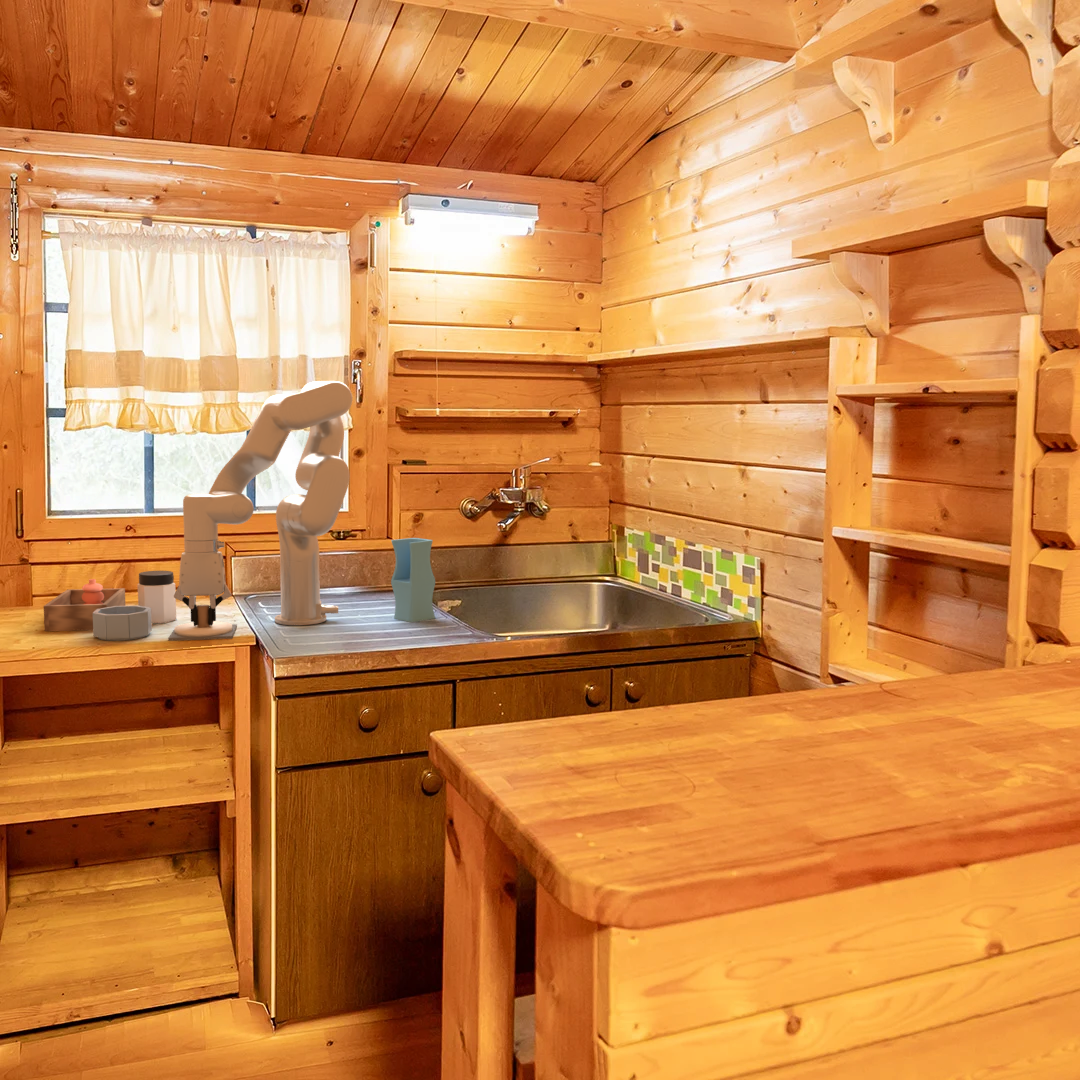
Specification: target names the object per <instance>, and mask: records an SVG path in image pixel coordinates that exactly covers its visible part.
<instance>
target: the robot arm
mask: <svg viewBox="0 0 1080 1080" xmlns="http://www.w3.org/2000/svg"><path fill="white" fill-rule="evenodd" d="M352 404H353V393H352V391H351V389H350V388H349V386H347V385H346V384H345V383H344V382H341V381H339V380H338V381H335V380H321V381H320V380H317V381H311V382H308V383H306V384H305V385H304V386H303V387H302V389H301V391H300V392H298V393H297V392H296V393H291V394H289V393H287V394H286V393H285V394H275V395H271V396H269V397H268V398H267V399H266V400H265V402H264V403H263V404H262V406H261V407H260V408H261V409H260V410H259V412H258V414H257V416H256V419H255V420H254V422H253V424H252V426H251V428H250V430H249V432H248V434H247V436H246V438H245V439H244V441H243V443H242V444H241V447H240V448H238V450H237V451H236V452H235V453H234V455H233V456H232V457H231V458H230V459H229V460H228V462H227V463H226V464H225V465H224V466H223V467H222V469H220V472H219V473H218V475H217V476H216V478H215V480H214V481H213V484H212V486H211V487H210V490H209V492H208V493H191V494H190V493H189V494H187V495H185V496H184V497H183V500H182V508H183V509H182V510H183V512H182V514H183V517H182V518H183V543H184V548H183V549H184V552H182V553H181V556H180V561H179V562H180V564H179V574H178V575H179V578H178V579H179V581H178V582H179V584H178V587H177V589H175V591H176V592H175V594H174V598H176V600H177V601H180V602H182V603H184V604H185V605H186V606H187V607H188V608H189V609H190V623H192V622H194V626H196V625H197V605H198V604H197V602H196V600H197V597H199V596H200V597H202V596H203V597H204V596H209V609H208V615H209V625H210V626H211V625H213V621H217V616H216V615H217V614H216V611H217V610H216V608H217V606H218V605H220V604H221V603H222V602H223V601H225V600H226V599H228V598H230V597H231V596H232V592H231V590H230V589H229V587H228V585H227V583H226V582H227V581H226V570H225V561H224V556H223V553H222V551H219V550H220V549H222V548H225V546H226V545H225V541H220V540H219V532H218V525H219V524H222V525H224V524H225V525H226V524H227V525H242V524H244V523H246V522H248V521H249V520H250V519H251V518H252V516H253V515H254V510H255V509H254V508H255V507H254V504H253V501H252V499H250V498H249V497H248V496H247V495H246V494H243V491H244V490H245V489H246V487H247V486H248V484H249V483H250V482H251V481H252V480H253V479H254V478H255V477H256V476H258V475H259V474H261V473H263V472H264V471H266V470H267V469H269V468H270V467H272V466H273V465H274V464H275V463H276V462H277V459H278V456H279V454H280V453H281V450H282V449H283V447H284V445H285V443H286V441H287V439H288V437H289V436H290V433H291V431H300V430H304V429H307V428H309V434H308V437H307V441H306V442H305V445H304V448H303V450H302V454H301V457H300V459H299V461H298V464H297V467H296V470H295V480H296V483H297V485H298V486H299V487H300V488H301V489H303V490H305V491H307V492H306V494H297V493H296V494H295V493H294V494H289V495H287V496H285V497H283V499H282V500H280V502H279V503H278V505H277V507H276V509H275V510H276V511H275V523H276V527H277V534H278V539H279V540H278V541H279V542H278V543H279V573H280V575H279V579H280V580H279V582H280V614H278V615H275V617H274V622H275V623H276V624H279V625H286V626H309V625H317V624H320V623H324V622H326V620H327V615H326V614H331V615H332V614H339V605H331V604H329V605H326V604H322V600H321V594H320V593H321V591H320V585H321V583H320V581H321V580H320V579H321V578H320V576H321V575H320V546H319V540H318V537H321V536H323V535H325V534H328V532H329V531H330V530H331V529H332V528H333V526H334V525H335V522H336V520H337V519H338V515H339V513H340V511H341V507H342V505H343V502H344V499H345V497H346V493H347V490H348V488H349V484H350V478H351V477H350V470H349V466H348V465H347V463H346V461H345V460H344V459H343V458H341V457H339V456H340V454H341V449H342V447H343V444H344V439H345V428H344V422H343V420H342V416H343V415H345V414H347V412H348V411H350V409H351V407H352Z"/></svg>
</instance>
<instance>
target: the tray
mask: <svg viewBox="0 0 1080 1080" xmlns="http://www.w3.org/2000/svg"><path fill="white" fill-rule="evenodd" d="M84 592H85V591H83V590H82V588H80V589H79V588H78V589H77V588H76V589H75V588H74V589H73V588H71V589H66V590H64V591H63V592H62V593H60V594H59V595H57V596H56V597H55V598H53V599H52V600H50V601H49V602H47V603H46V604H44V605H43V625H44V632H64V631H65V632H66V631H93V612H94V611H95V610H96V609H100V608H106V607H112V606H126V588H125V587H121V588H103V589H102V590H101V592H102V593H103V594H104V599H103V600H102V601H101V602H102V603H103V604H84V603H85V602H84V601H83V600H82V594H83V593H84ZM83 604H84V605H83Z"/></svg>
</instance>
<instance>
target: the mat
mask: <svg viewBox="0 0 1080 1080" xmlns="http://www.w3.org/2000/svg"><path fill="white" fill-rule="evenodd" d="M231 624H232V623H231ZM237 628H238V624H237V623H236V624H234V623H233V624H232V631H231V632H228V633H225V634H221V635H214V636H202V637H191V636H181V635H177V634H175V628H174V629H173V630H172V632H171V633H170V634H169V636H168V638H167V639H168V641H198V640H199V641H200V640H201V641H202V640H233V637H234V636H235V635H234V634H235V633H236V630H237Z"/></svg>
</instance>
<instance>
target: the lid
mask: <svg viewBox="0 0 1080 1080" xmlns="http://www.w3.org/2000/svg"><path fill="white" fill-rule="evenodd" d="M196 605H197V625H196V626H194V622H186V623H182V624H179V625H176V626H174V629H175V634H177V635H181V636H191V637H202V636H214V635H221V634H225V633H228V632H231V631H232V623H230V622H225V621H217V620H216V621H213V625H211V626H210V625H209V615H208V609H209V608H210V607H209V606H210V604H196Z"/></svg>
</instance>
